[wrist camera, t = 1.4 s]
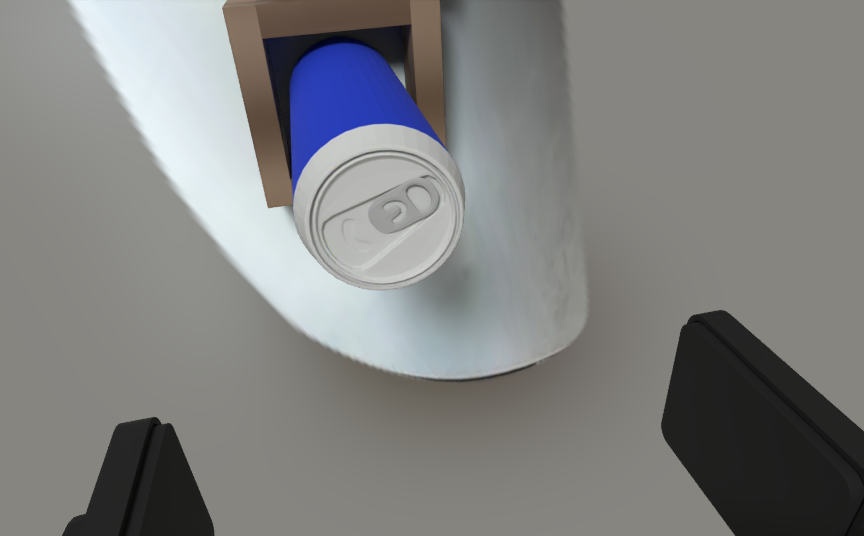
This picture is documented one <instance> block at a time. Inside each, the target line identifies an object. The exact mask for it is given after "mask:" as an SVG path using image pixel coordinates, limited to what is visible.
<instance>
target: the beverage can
mask: <svg viewBox="0 0 864 536" xmlns="http://www.w3.org/2000/svg"><path fill="white" fill-rule="evenodd" d="M290 120H291V155H292V190H293V212H294V221H295V224H296V228H297V231H298V234H299V236H300V238H301V240H302V242H303V244H304V245H305V247H306V248H307V250H308V251H309V252H310V254H311V255H312V256H313V257H314V258H315V259H316V260H317V261H318V262H319V264H320V265H321V266H322V267H323V268H325V269H326V270H327V271H328V272H329V273H330V274H332V275H333V276H334V277H336V278H337V279H339V280H341V281H343V282H345V283H347V284H350V285H353V286H356V287H359V288H363V289H369V290H393V289H398V288H402V287H406V286H409V285H412V284H415V283H417V282H419V281H421V280H423V279H425V278H426V277H428V276H429V275H431V274H432V273H433V272H435V271H436V270H437V269H438V268H439V267H440V266H441V265H443V264H444V262H445V261H446V260H447V259H448V257H449V256H450V255H451V253H452V252H453V250H454V248H455V247H456V245H457V242H458V240H459V237H460V235H461V231H462V227H463V221H464V209H465V189H464V183H463V180H462V176H461V173H460V171H459V169H458V166H457V164H456V162H455V161H454V159H453V158H452V156H451V155H450V153H449V152H448V151H447V149H446V148H445V146H444V145H443V143H442V142H441V140H440V139H439V137H438V136H437V134H436V133H435V132H434V130H433V129H432V127H431V126H430V124H429V123H428V121H427V120H426V118H425V117H424V115H423V114H422V113H421V111H420V110H419V108H418V107H417V105H416V104H415V102H414V101H413V99H412V98H411V96H410V95H409V94H408V92H407V91H406V89H405V88H404V86H403V85H402V83H401V82H400V80H399V79H398V77H397V76H396V75H395V73H394V72H393V70H392V69H391V67H390V66H389V64H388V63H387V61H386V60H385V59H384V57H383V56H382V55H381V54H380V53H379V52H378V51H377V50H376V49H375V48H373V47H372V46H371V45H369V44H367V43H365V42H363V41H361V40H358V39H355V38H350V37H332V38H327V39H324V40H321V41H319V42H317V43H316V44H314V45H312V46H311V47H310V48H308V49H307V50H306V51H305V52H304V53H303V54H302V55H301V56H300V58H299V59H298V61H297V63H296V64H295V67H294V69H293V71H292V75H291V79H290Z"/></svg>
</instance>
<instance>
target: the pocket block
mask: <svg viewBox="0 0 864 536" xmlns="http://www.w3.org/2000/svg"><path fill="white" fill-rule="evenodd" d="M222 9H223V14H224V18H225V22H226V27H227V31H228V35H229V40H230V44H231V49H232V53H233V57H234V62H235V66H236V70H237V75H238V79H239V83H240V88H241V92H242V97H243V101H244V105H245V110H246V114H247V118H248V123H249V127H250V131H251V136H252V140H253V144H254V149H255V153H256V158H257V162H258V166H259V171H260V175H261V179H262V184H263V188H264V192H265V197H266V201H267V206H268V208H273V207H280V206H287V205H293V190H292V157H291V158H290V157H289V152H288V146H287V141H286V136H285V131H284V126H283V121H282V116H281V111H280V106H279V101H278V96H277V91H276V85H275V80H274V75H273V70H272V65H271V60H270V55H269V50H268V45H267V40H266V38H275V37H285V36H295V35H306V34H316V33H327V32H337V31H347V30H358V29H368V28H379V27H389V26H399V25H401V32H402V45H403V58H404V71H405V84H406V91H407V92H408V94H409V95H410V96H411V98H412V99H413V101H414V102H415V104H416V105H417V107H418V108H419V110H420V111H421V113H422V114H423V115H424V117H425V118H426V120H427V121H428V123H429V124H430V126H431V127H432V129H433V130H434V132H435V133H436V134H437V136H438V137H439V139H440V140H441V142H442V143H443V145H444V146H445V148H446V137H445V114H444V90H443V67H442V43H441V20H440V0H227V1H226V3H225V4H224V6H223V7H222Z"/></svg>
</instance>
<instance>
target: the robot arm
mask: <svg viewBox="0 0 864 536" xmlns="http://www.w3.org/2000/svg"><path fill="white" fill-rule="evenodd" d="M661 428H662V433H663V436H664V438H665V440H666V442H667V443H668V445H669V446H670V447H671V449H672V450H673V452H674V453H675V454H676V456H677V457H678V458H679V460H680V461H681V463H682V464H683V465H684V467H685V468H686V469H687V471H688V472H689V473H690V475H691V476H692V477H693V478H694V480H695V482H696V483H697V484H698V486H699V487H700V488H701V490H702V491H703V493H704V494H705V495H706V497H707V498H708V499H709V501H710V502H711V503H712V505H713V506H714V507H715V509H716V510H717V512H718V513H719V514H720V516H721V517H722V518H723V520H724V521H725V522H726V524H727V525H728V526H729V528H730V529H731V531H732V532H733V533H734V535H735V536H864V431H863V430H862V429H860V428H859V427H858V426H857V425H856V424H855V423H854V422H852V421H851V420H850V419H849V418H848V417H847V416H846V415H844V414H843V413H842V412H841V411H840V410H839V409H838V408H836V407H835V406H834V405H833V404H832V403H831V402H830V401H828V400H827V399H826V398H825V397H824V396H823V395H822V394H820V393H819V392H818V391H817V390H816V389H815V388H814V387H812V386H811V385H810V384H809V383H808V382H807V381H806V380H805V379H803V378H802V377H801V376H800V375H799V374H798V373H797V372H795V371H794V370H793V369H792V368H791V367H790V366H789V365H787V364H786V363H785V362H784V361H783V360H782V359H780V358H779V357H778V356H777V355H776V354H775V353H774V352H772V351H771V350H770V349H769V348H768V347H767V346H766V345H765V344H763V343H762V342H761V341H760V340H759V339H758V338H757V337H755V336H754V335H753V334H752V333H751V332H750V331H748V329H746V328H745V327H744V326H743V325H742V324H741V323H739V322H738V321H737V320H736V319H735V318H734V317H733V316H731V315H730V314H729V313H727V312H726V311H723V310H718V311H713V312H708V313H702V314H697V315H693V316H691V317H690V318H689V320H688V322H687V324H686V325H684V326H683V327H682V329H681V332H680V337H679V342H678V347H677V352H676V356H675V361H674V365H673V370H672V375H671V380H670V385H669V389H668V394H667V399H666V404H665V409H664V413H663V418H662V422H661ZM62 536H214V527H213V523H212V520H211V517H210V515H209V513H208V510H207V508H206V505H205V503H204V501H203V498H202V496H201V493H200V491H199V489H198V486H197V483H196V481H195V479H194V476H193V474H192V471H191V469H190V467H189V464H188V462H187V459H186V457H185V454H184V452H183V450H182V447H181V445H180V442H179V440H178V437H177V435H176V433H175V430H174V428H173V426H172V425H171V424H170V423H167V424H163V425H162V424H161V422H160V421H159V419H158V418H156V417H152V418H147V419H141V420H136V421H131V422H126V423H120V424H118V425H117V426H116V428H115V430H114V432H113V435H112V438H111V441H110V444H109V447H108V450H107V453H106V456H105V459H104V462H103V465H102V468H101V471H100V474H99V476H98V479H97V482H96V485H95V488H94V491H93V494H92V497H91V500H90V503H89V506H88V509H87V512H86V514H84V515H79V516H76V517H74V518H73V519H72V520H71V521H70V522H69V523H68V525H67V527H66V529H65V531H64V533H63V535H62Z"/></svg>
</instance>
